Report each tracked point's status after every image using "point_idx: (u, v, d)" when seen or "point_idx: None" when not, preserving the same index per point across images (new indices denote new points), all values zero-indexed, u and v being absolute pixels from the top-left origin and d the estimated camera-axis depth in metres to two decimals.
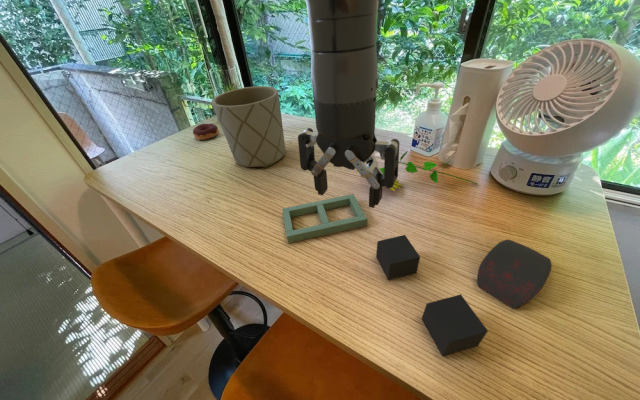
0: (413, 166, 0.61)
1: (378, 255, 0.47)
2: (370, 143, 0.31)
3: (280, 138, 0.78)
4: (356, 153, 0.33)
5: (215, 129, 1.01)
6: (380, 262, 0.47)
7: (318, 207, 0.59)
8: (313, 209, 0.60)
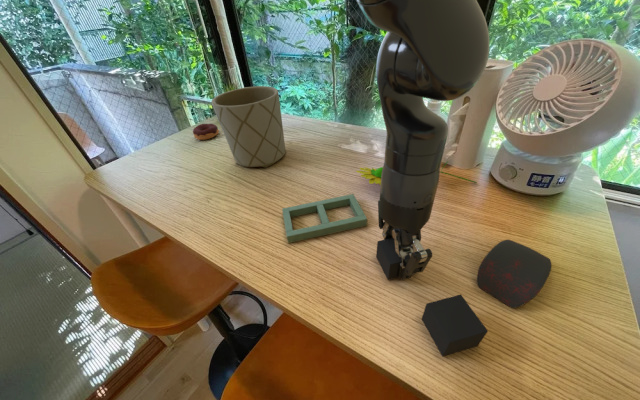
0: None
1: (378, 255, 0.47)
2: (408, 237, 0.37)
3: (280, 138, 0.78)
4: (399, 236, 0.39)
5: (215, 129, 1.01)
6: (380, 262, 0.47)
7: (318, 207, 0.59)
8: (313, 209, 0.60)
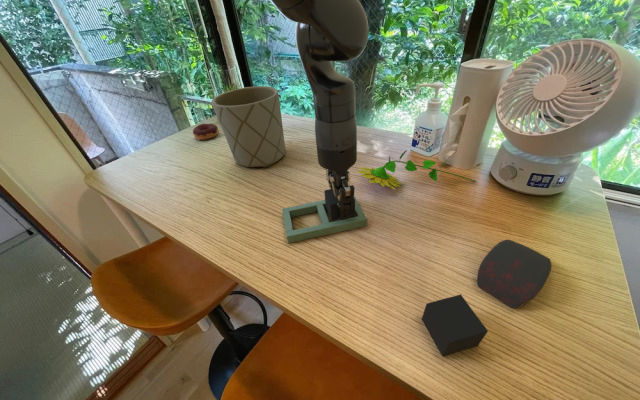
0: (413, 165, 0.62)
1: (326, 202, 0.57)
2: (338, 177, 0.47)
3: (280, 138, 0.78)
4: (334, 179, 0.49)
5: (215, 129, 1.01)
6: (327, 208, 0.57)
7: (318, 207, 0.59)
8: (313, 209, 0.60)
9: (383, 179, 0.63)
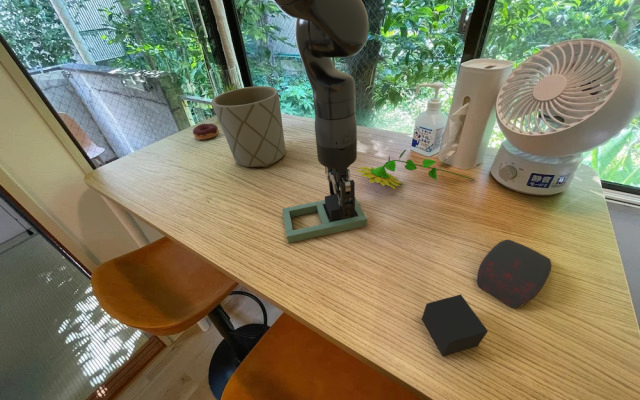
0: (412, 164, 0.62)
1: (326, 208, 0.59)
2: (338, 175, 0.47)
3: (280, 138, 0.78)
4: (334, 177, 0.49)
5: (215, 129, 1.01)
6: (327, 213, 0.58)
7: (318, 207, 0.59)
8: (313, 209, 0.60)
9: (383, 178, 0.63)
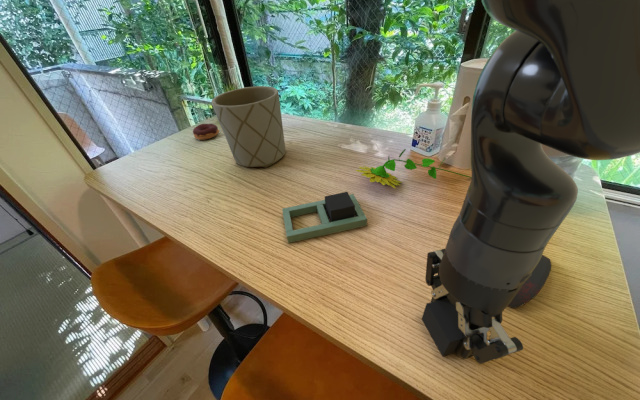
0: (412, 163, 0.62)
1: (326, 208, 0.59)
2: (486, 319, 0.27)
3: (280, 138, 0.78)
4: (468, 312, 0.29)
5: (215, 129, 1.01)
6: (327, 213, 0.58)
7: (318, 207, 0.59)
8: (313, 209, 0.60)
9: (383, 178, 0.64)
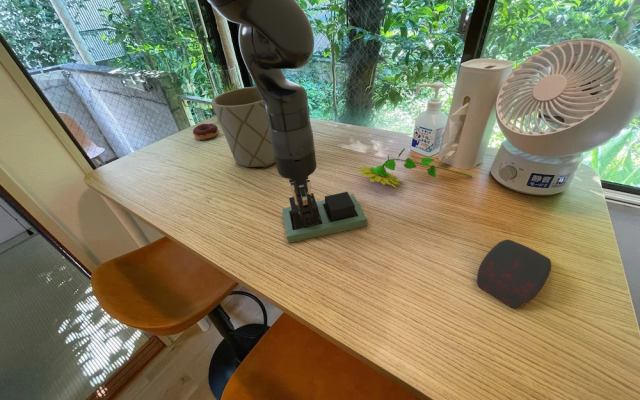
0: (412, 162, 0.62)
1: (326, 208, 0.59)
2: (296, 185, 0.46)
3: None
4: (293, 187, 0.49)
5: (215, 129, 1.01)
6: (327, 213, 0.58)
7: (318, 207, 0.59)
8: None
9: (383, 177, 0.64)
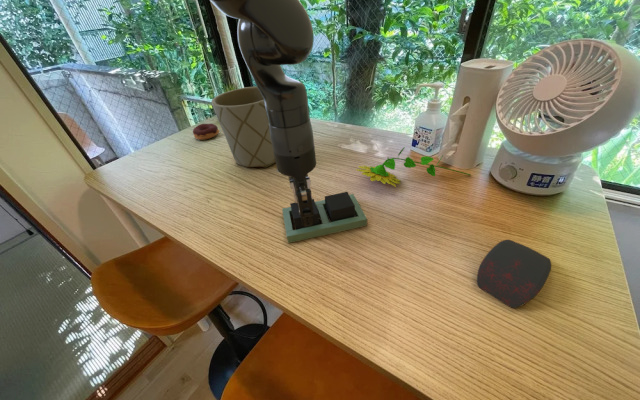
0: (411, 161, 0.63)
1: (326, 208, 0.59)
2: (295, 183, 0.46)
3: None
4: (293, 185, 0.48)
5: (215, 129, 1.01)
6: (327, 213, 0.58)
7: (318, 207, 0.59)
8: None
9: (383, 176, 0.64)
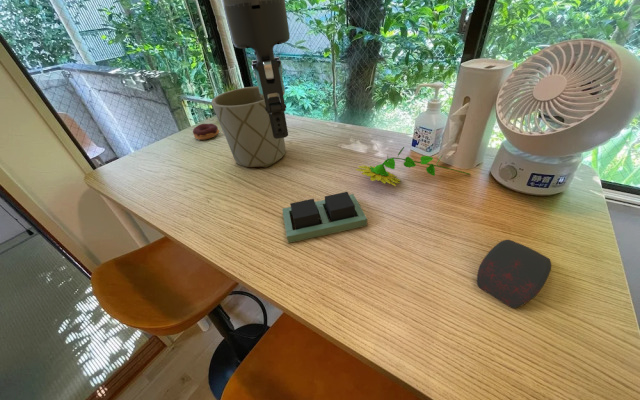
0: (411, 161, 0.63)
1: (326, 208, 0.59)
2: (258, 58, 0.32)
3: (280, 138, 0.78)
4: (257, 69, 0.34)
5: (215, 129, 1.01)
6: (327, 213, 0.58)
7: (318, 207, 0.59)
8: None
9: (383, 176, 0.64)
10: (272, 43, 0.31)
